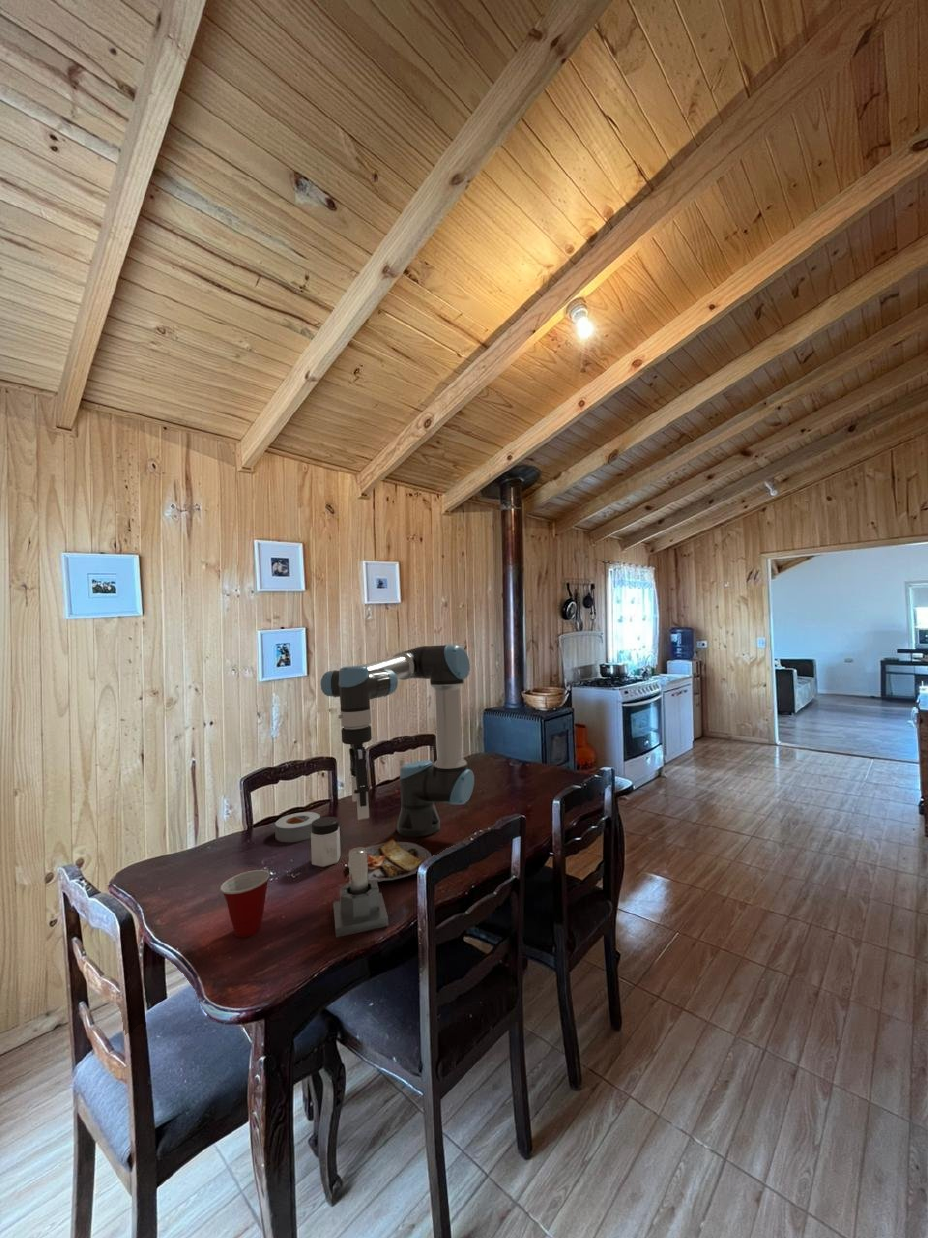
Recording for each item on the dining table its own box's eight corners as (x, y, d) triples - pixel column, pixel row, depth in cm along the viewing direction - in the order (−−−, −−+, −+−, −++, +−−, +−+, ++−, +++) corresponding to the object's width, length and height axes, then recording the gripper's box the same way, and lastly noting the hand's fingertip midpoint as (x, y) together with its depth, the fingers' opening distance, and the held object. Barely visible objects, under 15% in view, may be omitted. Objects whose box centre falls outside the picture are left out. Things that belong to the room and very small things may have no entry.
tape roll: (265, 841, 169) (265, 826, 169) (293, 824, 183) (292, 810, 183) (303, 844, 164) (303, 829, 164) (328, 827, 179) (328, 813, 179)
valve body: (379, 892, 130) (378, 865, 130) (388, 926, 114) (387, 895, 115) (333, 901, 126) (332, 874, 127) (335, 937, 111) (334, 906, 111)
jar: (315, 869, 145) (314, 829, 145) (308, 860, 151) (306, 821, 152) (344, 861, 150) (343, 821, 150) (336, 852, 156) (334, 814, 157)
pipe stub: (367, 902, 121) (365, 846, 122) (370, 912, 117) (367, 853, 117) (349, 906, 120) (347, 849, 120) (351, 916, 116) (349, 856, 116)
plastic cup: (240, 916, 122) (239, 867, 122) (280, 918, 120) (278, 868, 120) (211, 943, 111) (209, 889, 111) (254, 946, 109) (252, 891, 110)
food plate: (336, 862, 149) (336, 850, 149) (403, 841, 163) (403, 831, 163) (372, 897, 129) (372, 884, 129) (445, 870, 142) (445, 858, 142)
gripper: (338, 720, 136) (341, 796, 135) (345, 737, 112) (349, 830, 112) (365, 717, 138) (368, 792, 138) (377, 733, 115) (382, 824, 114)
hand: (360, 809), depth 125 cm, fingers open, 13 cm apart
